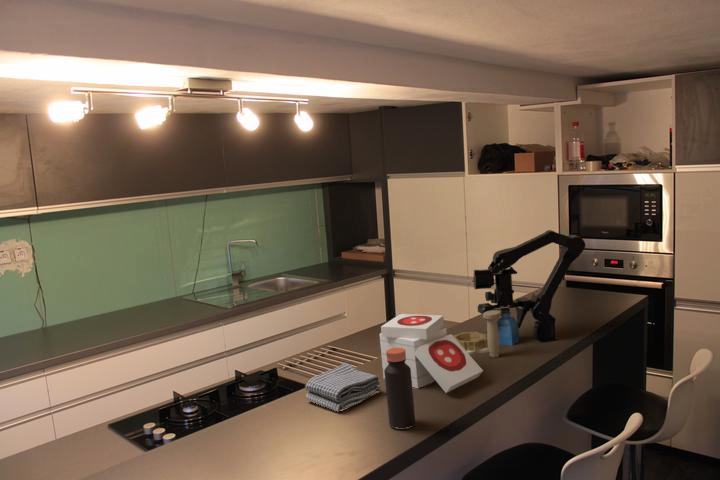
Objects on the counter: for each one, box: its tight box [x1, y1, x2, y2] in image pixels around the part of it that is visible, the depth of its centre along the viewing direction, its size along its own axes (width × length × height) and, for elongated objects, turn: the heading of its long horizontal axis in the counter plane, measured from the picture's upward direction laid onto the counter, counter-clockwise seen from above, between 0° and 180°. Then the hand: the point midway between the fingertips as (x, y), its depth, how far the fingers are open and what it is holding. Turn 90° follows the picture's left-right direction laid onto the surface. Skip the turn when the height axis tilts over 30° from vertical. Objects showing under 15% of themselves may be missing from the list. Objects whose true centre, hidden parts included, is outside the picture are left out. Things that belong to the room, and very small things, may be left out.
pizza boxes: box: [379, 313, 484, 394], centre depth 185 cm, size 19×30×18 cm, turn 41°
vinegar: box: [384, 348, 416, 428], centre depth 156 cm, size 7×7×20 cm
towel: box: [304, 362, 381, 413], centre depth 178 cm, size 15×18×8 cm
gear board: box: [452, 331, 489, 356], centre depth 212 cm, size 14×14×4 cm
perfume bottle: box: [497, 308, 520, 346], centre depth 214 cm, size 6×6×12 cm
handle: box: [482, 310, 501, 359], centre depth 200 cm, size 5×6×15 cm
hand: (506, 329), depth 214 cm, fingers closed on perfume bottle, 9 cm apart
